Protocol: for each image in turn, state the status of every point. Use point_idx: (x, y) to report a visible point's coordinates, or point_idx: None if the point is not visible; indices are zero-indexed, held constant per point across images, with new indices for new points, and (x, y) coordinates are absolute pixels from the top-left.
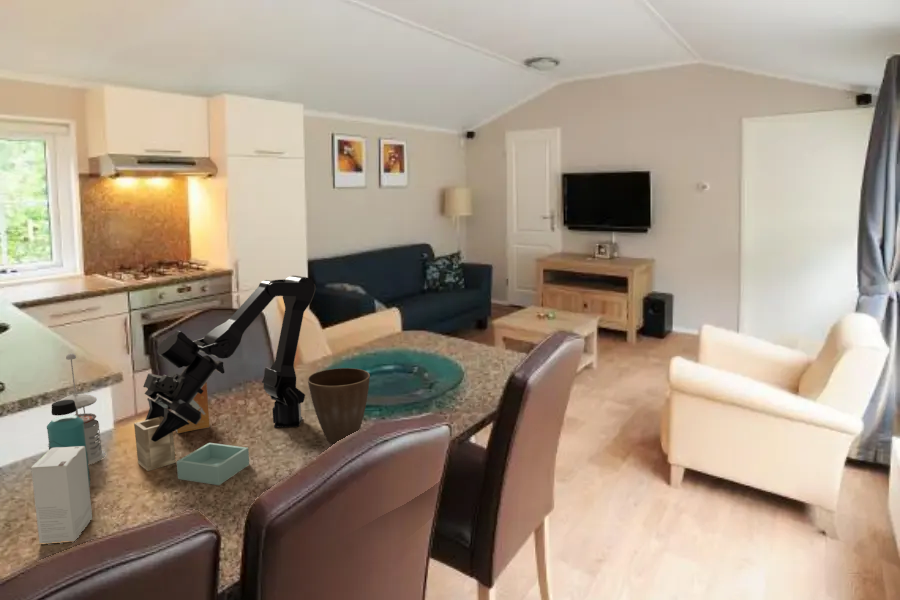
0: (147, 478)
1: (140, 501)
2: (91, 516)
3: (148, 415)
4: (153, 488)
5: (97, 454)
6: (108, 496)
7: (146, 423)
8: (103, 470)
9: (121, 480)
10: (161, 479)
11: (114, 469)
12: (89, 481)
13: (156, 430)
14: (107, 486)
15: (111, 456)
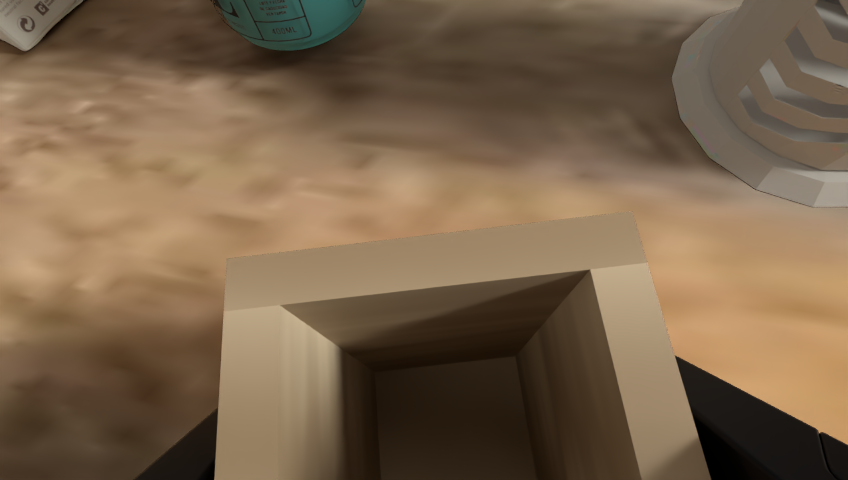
0: None
1: (5, 231)
2: (9, 41)
3: (815, 468)
4: (87, 319)
5: (765, 136)
6: (189, 129)
7: (603, 385)
8: (542, 155)
9: (331, 205)
10: (164, 390)
11: (519, 202)
12: (251, 26)
13: (215, 438)
14: (308, 141)
15: (758, 222)
